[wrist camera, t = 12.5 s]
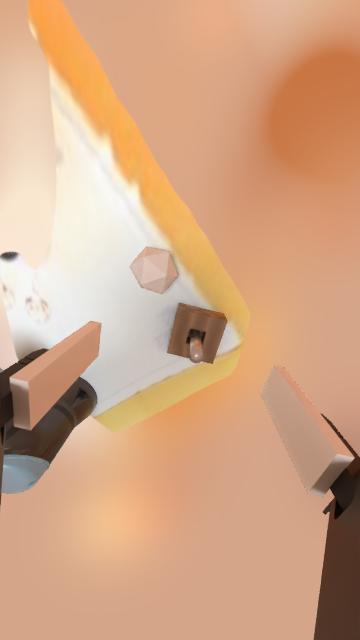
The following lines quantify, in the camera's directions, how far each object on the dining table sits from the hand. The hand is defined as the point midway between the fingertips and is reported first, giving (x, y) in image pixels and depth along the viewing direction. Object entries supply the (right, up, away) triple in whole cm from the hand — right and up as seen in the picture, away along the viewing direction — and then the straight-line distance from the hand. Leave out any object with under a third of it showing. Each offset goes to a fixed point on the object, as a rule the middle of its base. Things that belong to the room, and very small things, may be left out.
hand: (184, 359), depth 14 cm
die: (-5, +15, +29) cm, 33 cm away
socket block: (+4, +1, +33) cm, 33 cm away
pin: (+3, 0, +32) cm, 32 cm away
